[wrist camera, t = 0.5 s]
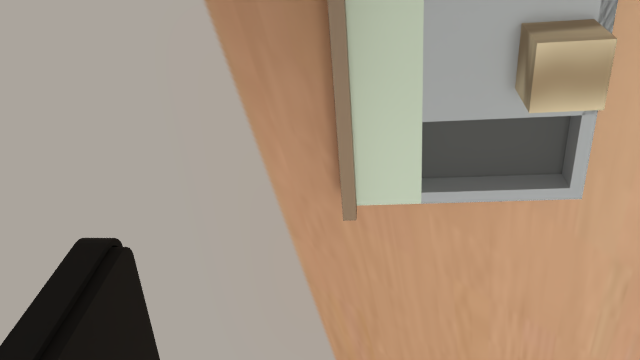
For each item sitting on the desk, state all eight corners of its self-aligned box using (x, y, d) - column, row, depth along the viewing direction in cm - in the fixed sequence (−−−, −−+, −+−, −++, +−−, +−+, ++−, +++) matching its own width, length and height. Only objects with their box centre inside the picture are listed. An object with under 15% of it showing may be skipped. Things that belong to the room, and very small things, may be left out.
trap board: (323, -125, 36) (318, -119, 32) (627, -151, 34) (660, -148, 31) (344, 188, 48) (343, 220, 44) (571, 181, 46) (590, 213, 42)
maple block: (521, 23, 38) (537, 43, 34) (594, 19, 37) (617, 38, 34) (515, 88, 40) (528, 113, 37) (583, 85, 40) (603, 109, 36)
